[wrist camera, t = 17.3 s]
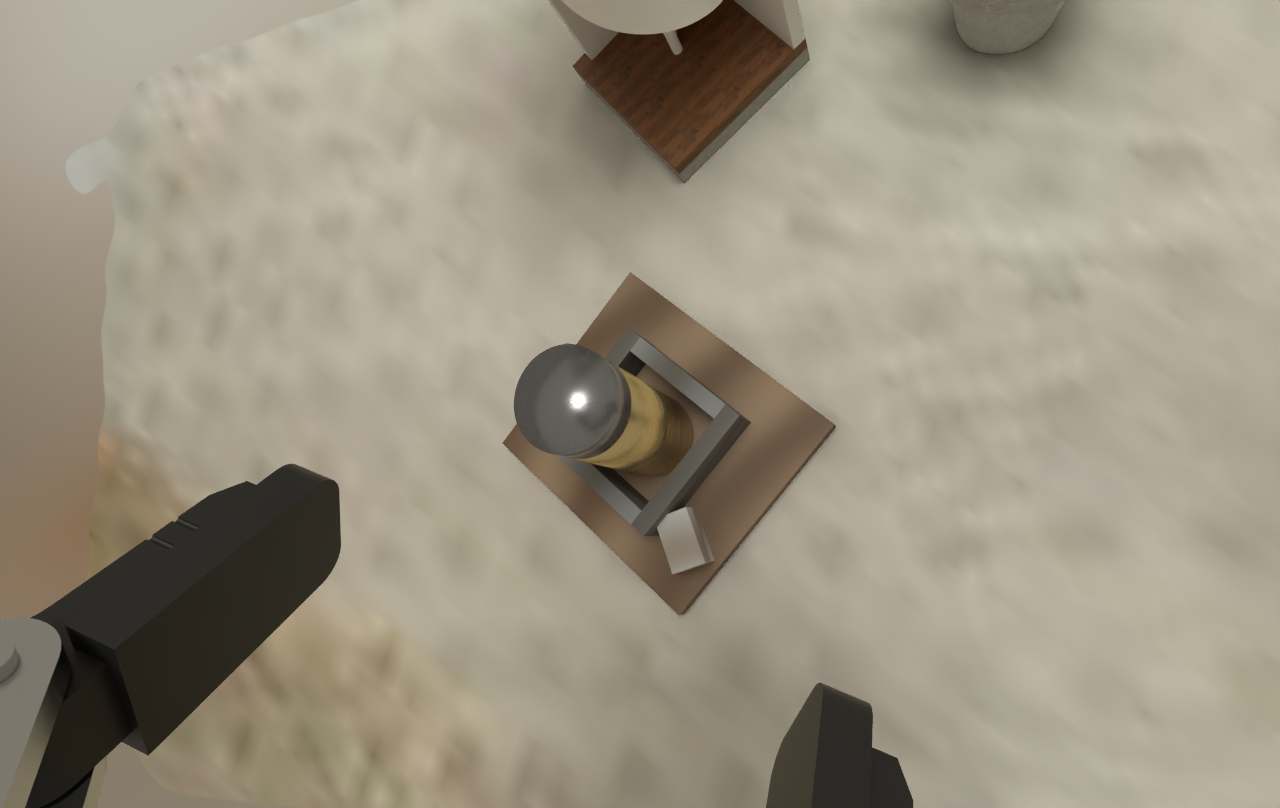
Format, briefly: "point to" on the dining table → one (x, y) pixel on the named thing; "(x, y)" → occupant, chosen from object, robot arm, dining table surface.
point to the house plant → (1003, 23)
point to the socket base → (710, 471)
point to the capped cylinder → (599, 413)
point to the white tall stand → (685, 66)
